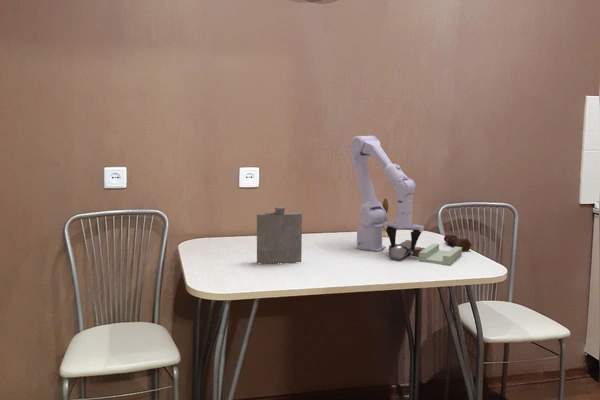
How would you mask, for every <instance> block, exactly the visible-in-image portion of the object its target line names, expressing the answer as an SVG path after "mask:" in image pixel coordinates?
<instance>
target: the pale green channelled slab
mask: <svg viewBox="0 0 600 400" xmlns="http://www.w3.org/2000/svg"><path fill="white" fill-rule="evenodd" d="M424 248H425V249H423V250H422V251H420V252H419V256H418V262H424V263H431V264H438V265H443V266H451V265H452V264H454V263H455V262H456V261H457V260H458V259H460V257H462V255H463V252H462V247H456V246H453V248H451V249H450V250H443V249H442V250H441V249H440V244H439V243H431V244H430V245H428V246H426V247H424Z"/></svg>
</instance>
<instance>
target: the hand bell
mask: <svg viewBox="0 0 600 400" xmlns="http://www.w3.org/2000/svg"><path fill="white" fill-rule="evenodd" d="M382 205H383V208H384V210H385V211H386V213H387V214H388V213H389V212H388V211H389V201H388V199H387V198H384V199H383V201H382ZM386 222H389V221H388V219H387V220H386ZM384 224H385V223H384ZM382 227H383V229H382V238H389V236H388V234H387V232H386V229H387V228H384V226H382Z"/></svg>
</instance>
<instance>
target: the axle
mask: <svg viewBox="0 0 600 400" xmlns="http://www.w3.org/2000/svg"><path fill="white" fill-rule="evenodd" d="M397 244H398V243H397ZM412 251H413V250H411V240H410V239H406V240H404V241H402V242H401V243H399V244H398V245H397V246H395V247H393V248H391V249H390V250H389V249H388V257H389V259H390V260H391V261H395V262H399V261H401V260H402V259H403V258H405V257H407V256H408V255H410V254H411V253H412Z"/></svg>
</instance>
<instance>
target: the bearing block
mask: <svg viewBox="0 0 600 400" xmlns="http://www.w3.org/2000/svg"><path fill="white" fill-rule="evenodd" d="M397 245H398V243H395V246H397ZM425 248H426V247H419V246H415V250H413V251H412V252H411V253H412V255H411V256H413V257H414V256H415V257H419V252H420V251H422V250H423V249H425ZM390 249H391V244H390V245H389V246H388V251H389V250H390Z"/></svg>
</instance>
